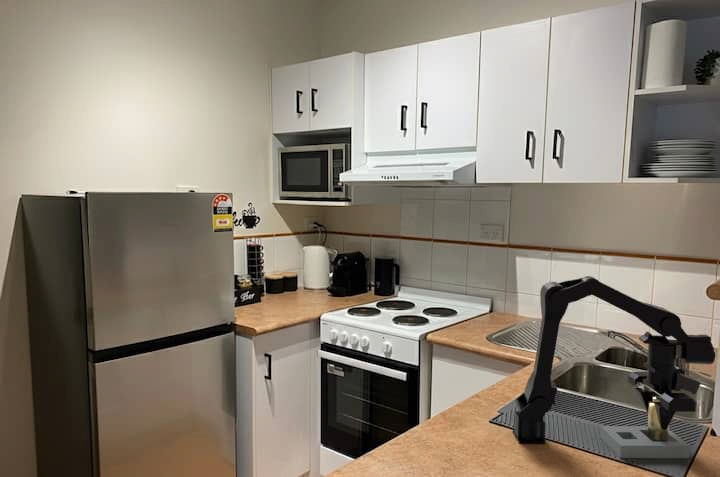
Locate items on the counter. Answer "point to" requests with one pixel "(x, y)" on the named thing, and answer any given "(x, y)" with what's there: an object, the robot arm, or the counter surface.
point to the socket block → (642, 443)
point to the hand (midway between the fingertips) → (658, 424)
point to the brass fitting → (655, 422)
